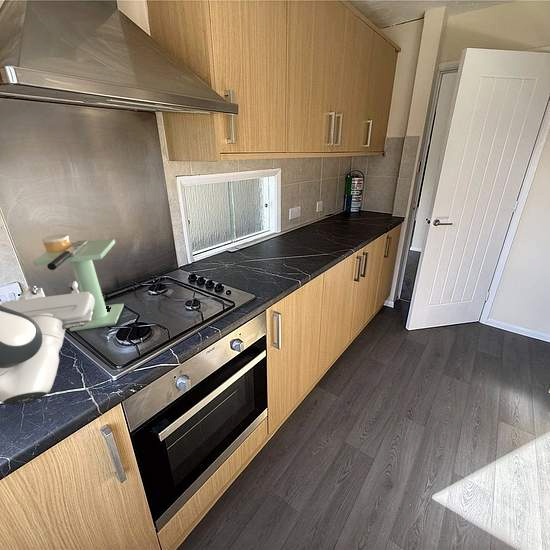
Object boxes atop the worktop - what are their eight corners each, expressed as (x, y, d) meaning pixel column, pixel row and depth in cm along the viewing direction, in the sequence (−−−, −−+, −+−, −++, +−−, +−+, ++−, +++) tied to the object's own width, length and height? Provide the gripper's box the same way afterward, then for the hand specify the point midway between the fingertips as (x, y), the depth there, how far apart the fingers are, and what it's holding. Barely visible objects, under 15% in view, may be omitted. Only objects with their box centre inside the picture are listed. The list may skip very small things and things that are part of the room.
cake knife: (59, 269, 78) (56, 262, 78) (46, 270, 78) (43, 263, 77) (88, 243, 101) (86, 237, 100) (78, 244, 100) (76, 238, 99)
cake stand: (120, 326, 99) (97, 241, 88) (59, 336, 95) (25, 248, 83) (130, 302, 115) (111, 227, 104) (78, 309, 111) (52, 232, 99)
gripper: (85, 318, 70) (92, 272, 77) (-17, 332, 65) (1, 283, 73) (95, 330, 75) (101, 286, 82) (1, 344, 70) (16, 296, 78)
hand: (53, 285), depth 78 cm, fingers open, 8 cm apart
